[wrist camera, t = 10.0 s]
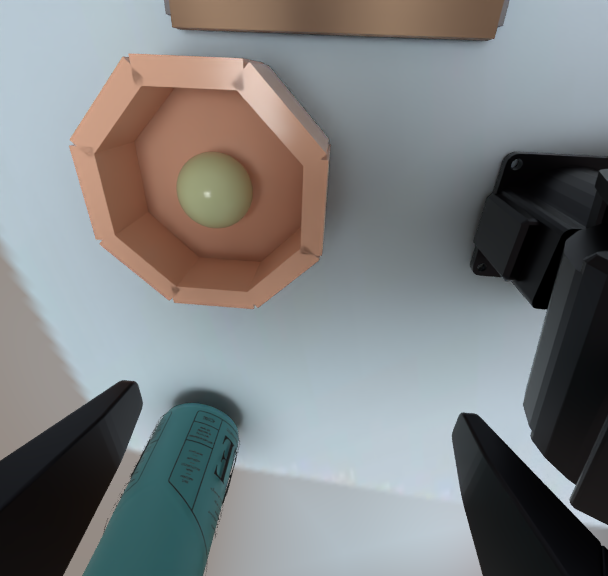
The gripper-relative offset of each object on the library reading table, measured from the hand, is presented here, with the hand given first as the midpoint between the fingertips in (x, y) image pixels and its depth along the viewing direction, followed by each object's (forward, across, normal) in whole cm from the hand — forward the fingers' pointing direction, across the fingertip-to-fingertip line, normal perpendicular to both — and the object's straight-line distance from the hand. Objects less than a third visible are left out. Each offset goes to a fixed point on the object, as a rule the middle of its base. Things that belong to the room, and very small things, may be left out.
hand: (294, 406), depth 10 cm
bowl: (+12, +5, -3) cm, 13 cm away
